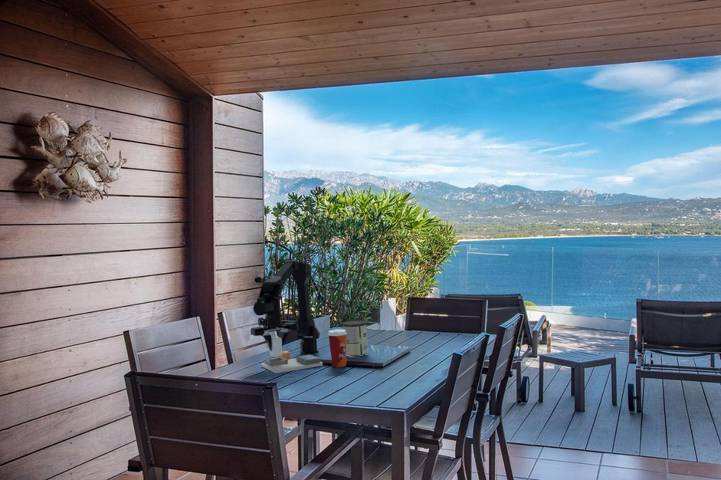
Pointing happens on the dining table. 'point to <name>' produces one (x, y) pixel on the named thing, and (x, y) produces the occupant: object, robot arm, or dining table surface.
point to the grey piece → (308, 359)
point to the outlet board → (286, 365)
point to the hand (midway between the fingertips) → (275, 350)
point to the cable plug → (284, 355)
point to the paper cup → (338, 347)
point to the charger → (276, 346)
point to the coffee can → (356, 337)
